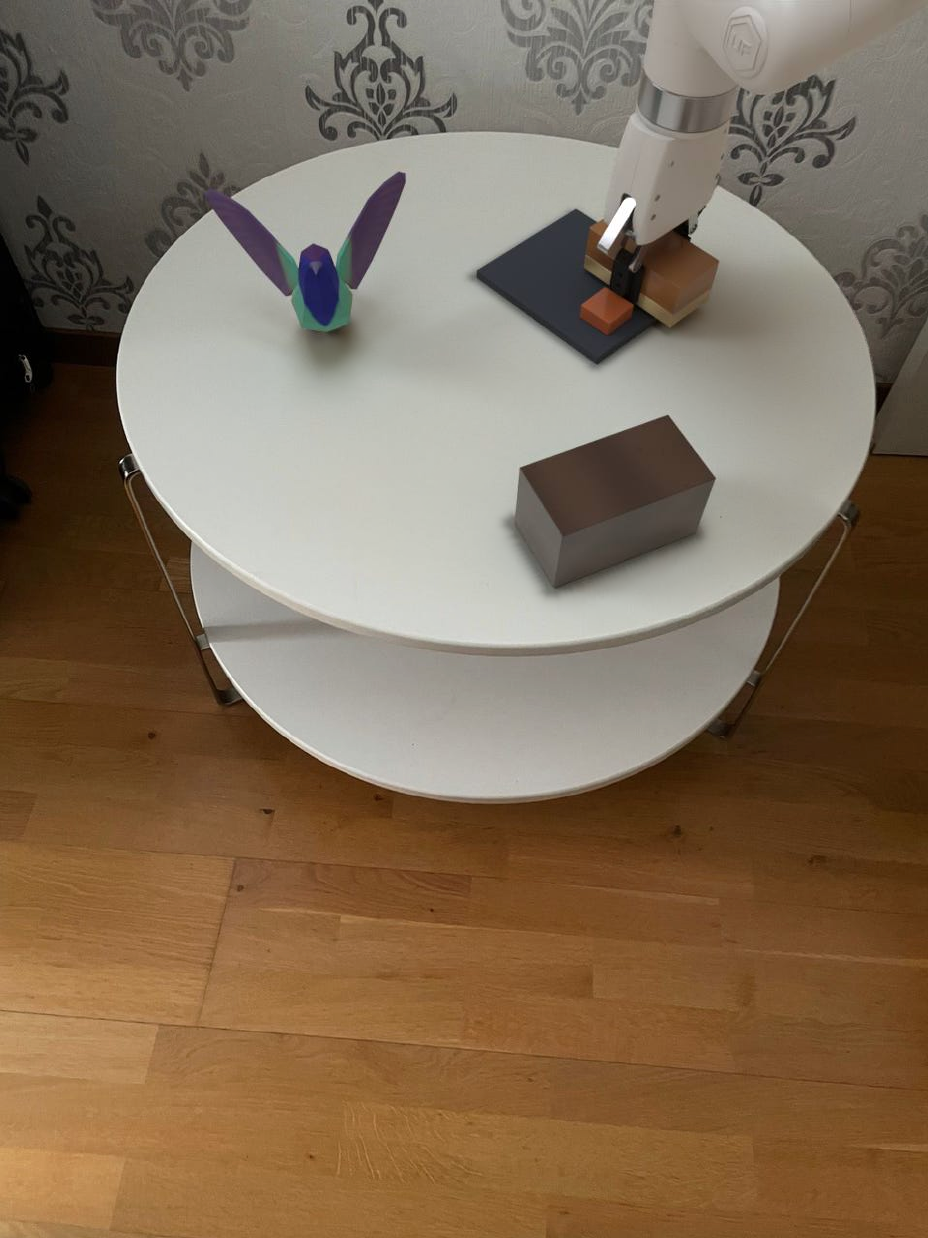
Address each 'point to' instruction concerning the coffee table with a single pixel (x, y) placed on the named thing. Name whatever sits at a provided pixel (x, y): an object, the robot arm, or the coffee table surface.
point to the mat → (560, 286)
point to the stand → (611, 499)
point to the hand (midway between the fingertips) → (645, 279)
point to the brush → (661, 273)
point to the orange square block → (606, 311)
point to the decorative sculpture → (315, 256)
